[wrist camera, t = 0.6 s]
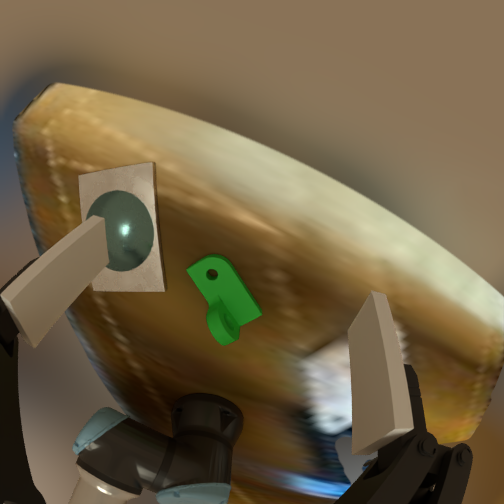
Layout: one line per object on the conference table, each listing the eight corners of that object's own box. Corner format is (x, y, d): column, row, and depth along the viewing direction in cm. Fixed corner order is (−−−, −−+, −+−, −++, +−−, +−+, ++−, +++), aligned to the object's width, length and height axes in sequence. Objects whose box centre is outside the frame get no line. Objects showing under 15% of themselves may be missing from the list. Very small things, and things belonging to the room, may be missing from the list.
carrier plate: (167, 288, 42) (164, 292, 41) (96, 288, 43) (93, 291, 41) (155, 162, 38) (151, 161, 36) (82, 175, 38) (78, 175, 37)
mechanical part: (261, 309, 43) (263, 334, 36) (230, 325, 44) (226, 352, 36) (221, 246, 41) (213, 260, 33) (189, 266, 42) (175, 284, 34)
